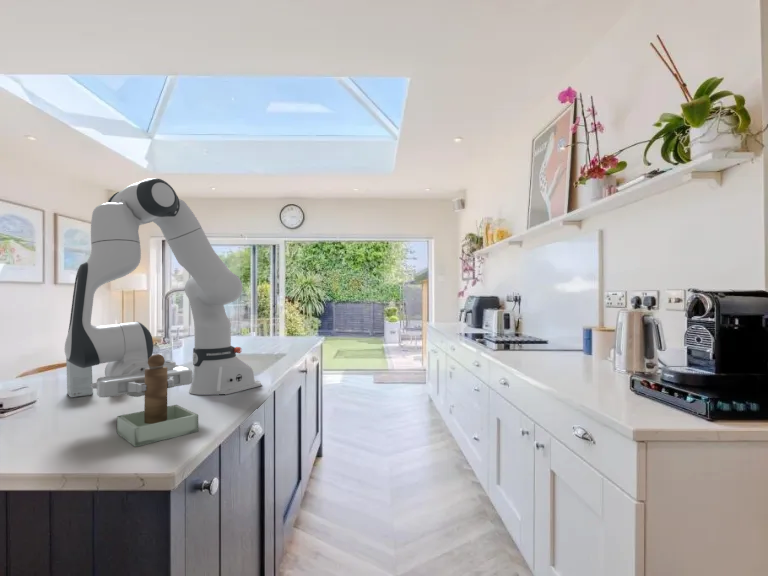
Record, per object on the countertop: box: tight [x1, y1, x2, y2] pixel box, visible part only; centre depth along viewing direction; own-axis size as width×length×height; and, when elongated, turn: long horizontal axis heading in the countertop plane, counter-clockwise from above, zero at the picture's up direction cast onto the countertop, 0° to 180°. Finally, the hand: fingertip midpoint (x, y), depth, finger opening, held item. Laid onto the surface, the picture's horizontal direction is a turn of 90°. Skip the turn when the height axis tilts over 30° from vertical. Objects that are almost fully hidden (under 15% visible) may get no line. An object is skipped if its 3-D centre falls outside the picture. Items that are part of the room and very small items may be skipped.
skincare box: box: [65, 357, 94, 398], centre depth 132 cm, size 8×6×15 cm
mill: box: [143, 353, 168, 424], centre depth 95 cm, size 5×5×15 cm
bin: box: [116, 404, 199, 448], centre depth 95 cm, size 13×13×4 cm
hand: (157, 386), depth 95 cm, fingers closed on mill, 5 cm apart
